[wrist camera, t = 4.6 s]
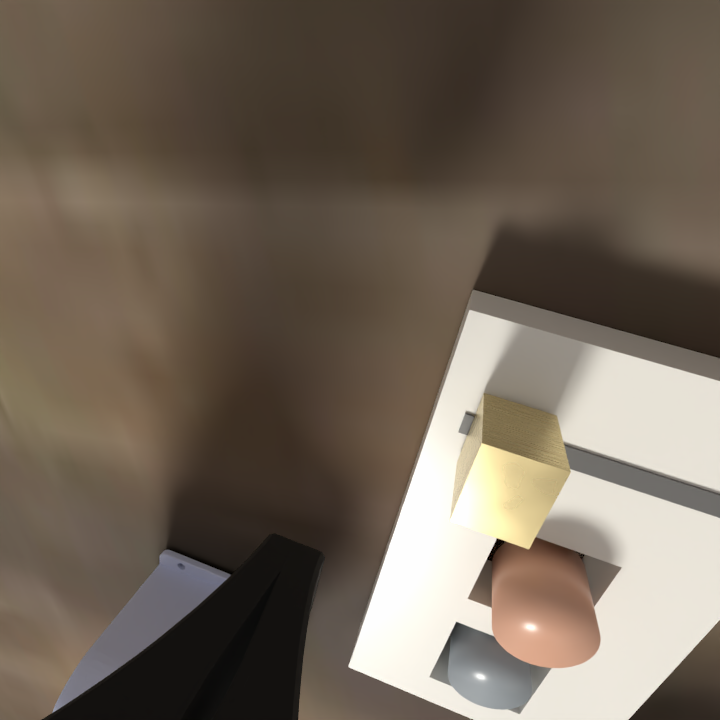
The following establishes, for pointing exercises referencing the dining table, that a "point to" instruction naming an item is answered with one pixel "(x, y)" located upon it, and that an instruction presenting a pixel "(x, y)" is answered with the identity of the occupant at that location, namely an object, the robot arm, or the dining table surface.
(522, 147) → the dining table surface
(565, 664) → the terracotta button
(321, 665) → the dining table surface
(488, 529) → the brass slider
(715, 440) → the white flat block
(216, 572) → the robot arm
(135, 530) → the dining table surface
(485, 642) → the slate button
